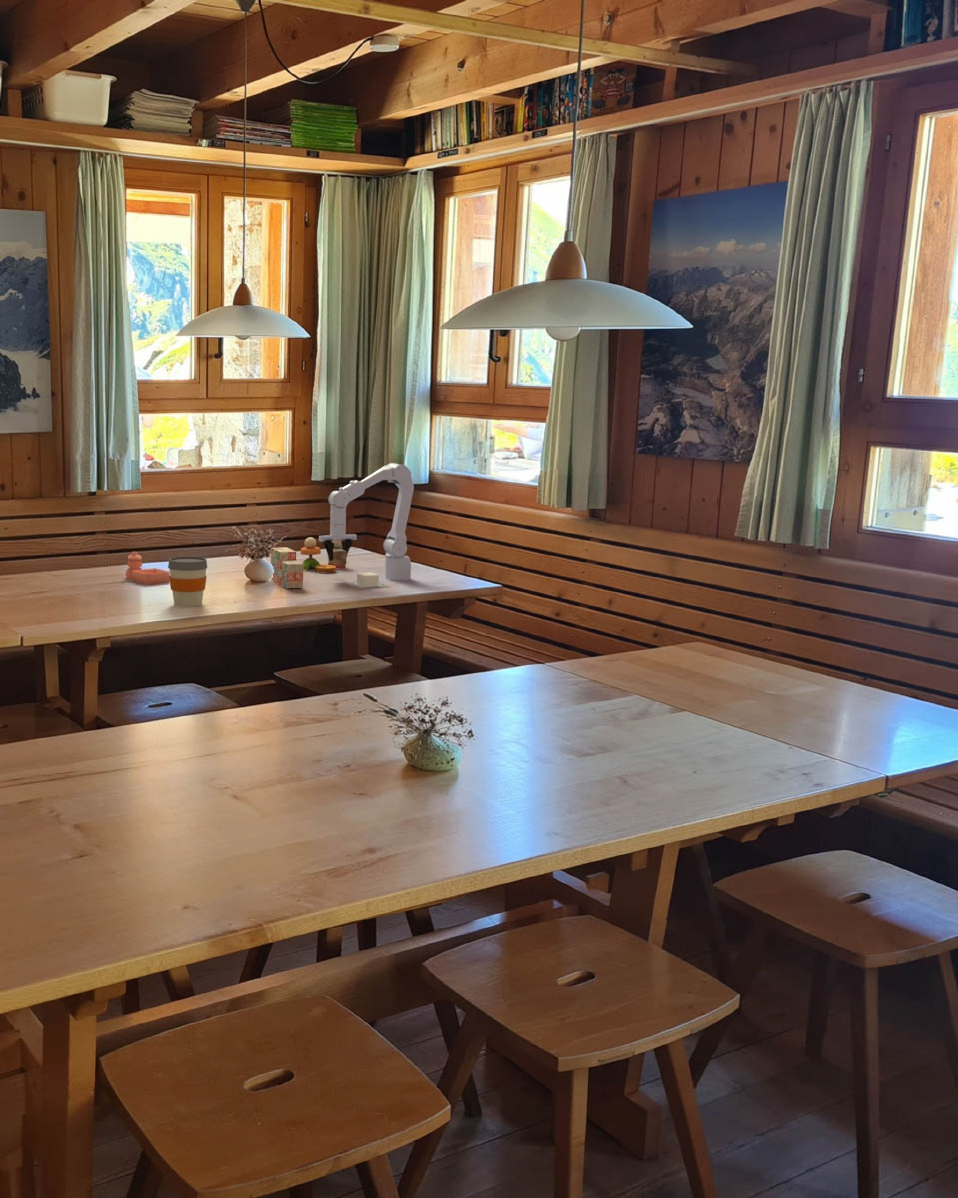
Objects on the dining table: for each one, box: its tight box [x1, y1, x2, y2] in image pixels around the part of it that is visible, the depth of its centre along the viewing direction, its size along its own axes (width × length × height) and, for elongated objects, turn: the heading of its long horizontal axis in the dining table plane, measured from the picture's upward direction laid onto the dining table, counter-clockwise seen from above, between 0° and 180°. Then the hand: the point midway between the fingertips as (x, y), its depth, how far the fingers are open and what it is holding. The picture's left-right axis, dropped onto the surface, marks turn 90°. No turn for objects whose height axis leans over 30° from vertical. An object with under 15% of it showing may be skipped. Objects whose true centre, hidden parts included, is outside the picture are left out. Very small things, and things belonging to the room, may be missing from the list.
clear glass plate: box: [345, 581, 390, 590], centre depth 436 cm, size 12×14×1 cm
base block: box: [356, 572, 380, 587], centre depth 436 cm, size 6×6×4 cm
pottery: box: [125, 551, 170, 586], centre depth 429 cm, size 18×10×10 cm, turn 49°
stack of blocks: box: [270, 546, 304, 590], centre depth 433 cm, size 21×6×12 cm, turn 25°
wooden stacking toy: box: [300, 536, 347, 573], centre depth 468 cm, size 18×17×12 cm
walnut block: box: [327, 549, 348, 565], centre depth 440 cm, size 5×5×5 cm
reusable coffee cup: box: [167, 555, 208, 608], centre depth 390 cm, size 13×13×15 cm
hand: (337, 559), depth 441 cm, fingers closed on walnut block, 5 cm apart
